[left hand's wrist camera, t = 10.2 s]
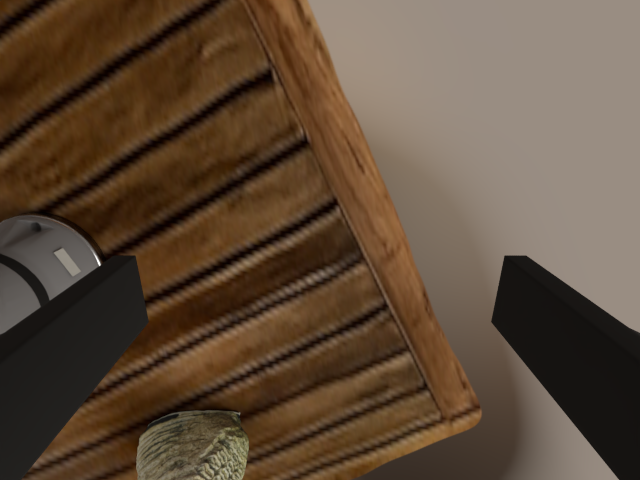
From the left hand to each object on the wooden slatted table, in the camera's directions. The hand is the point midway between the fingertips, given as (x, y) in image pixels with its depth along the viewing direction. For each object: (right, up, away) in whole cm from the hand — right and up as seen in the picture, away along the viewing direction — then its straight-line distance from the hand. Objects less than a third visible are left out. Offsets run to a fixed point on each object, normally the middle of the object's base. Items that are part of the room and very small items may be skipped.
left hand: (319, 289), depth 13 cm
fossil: (-20, -29, +45) cm, 57 cm away
